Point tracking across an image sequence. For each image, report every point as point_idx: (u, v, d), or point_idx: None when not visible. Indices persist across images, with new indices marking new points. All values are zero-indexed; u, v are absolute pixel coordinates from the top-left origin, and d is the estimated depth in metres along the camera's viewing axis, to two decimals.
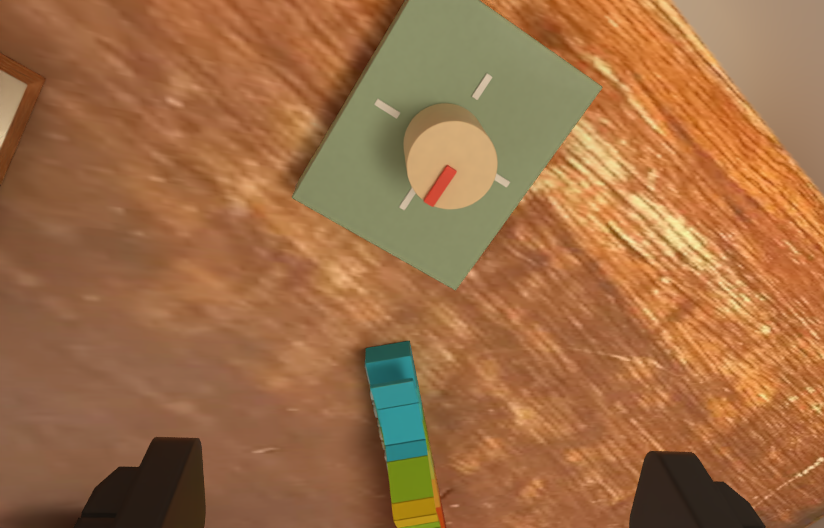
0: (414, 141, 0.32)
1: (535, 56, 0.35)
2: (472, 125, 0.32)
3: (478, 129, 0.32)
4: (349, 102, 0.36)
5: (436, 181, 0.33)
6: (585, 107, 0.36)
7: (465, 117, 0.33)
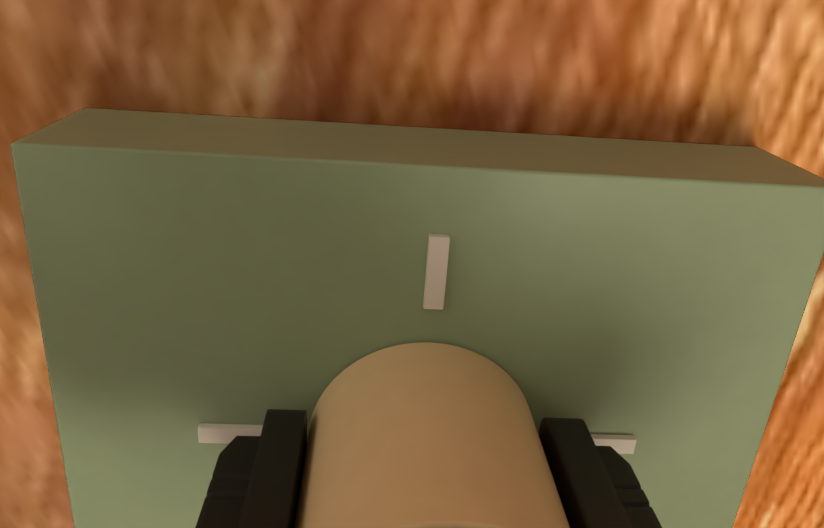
0: (457, 518, 0.09)
1: (711, 501, 0.15)
2: None
3: None
4: (397, 166, 0.11)
5: None
6: None
7: None
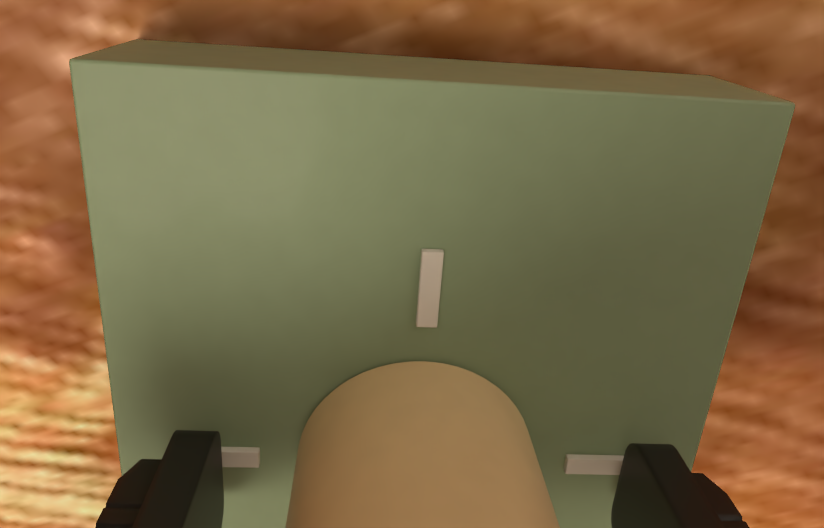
0: None
1: None
2: None
3: None
4: (700, 429, 0.13)
5: None
6: None
7: None
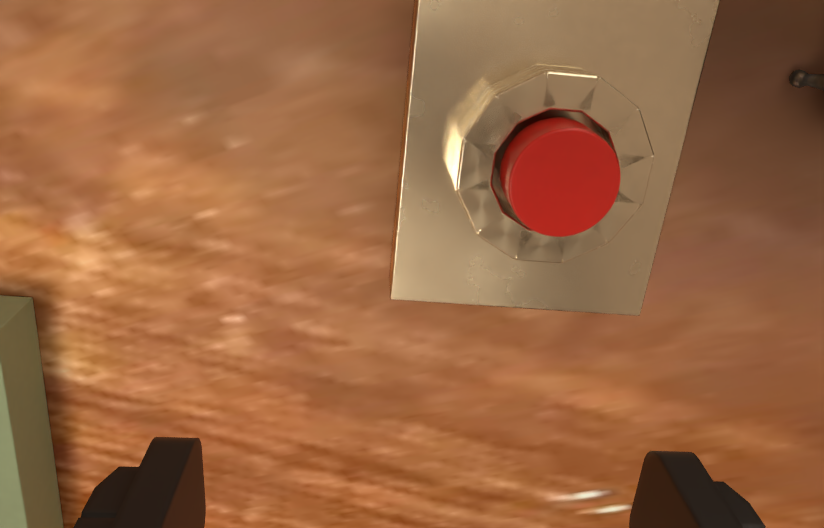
0: None
1: None
2: None
3: None
4: (16, 466, 0.28)
5: None
6: None
7: None
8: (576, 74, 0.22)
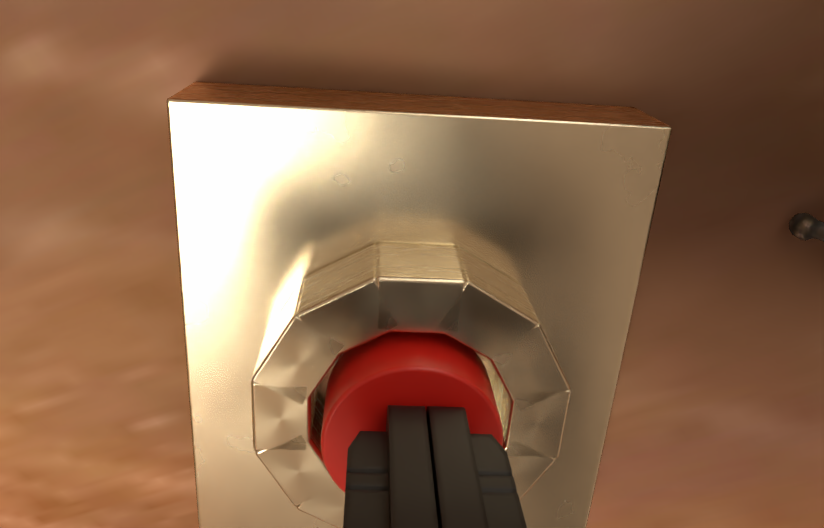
0: None
1: None
2: None
3: None
4: None
5: None
6: None
7: None
8: (428, 278, 0.13)
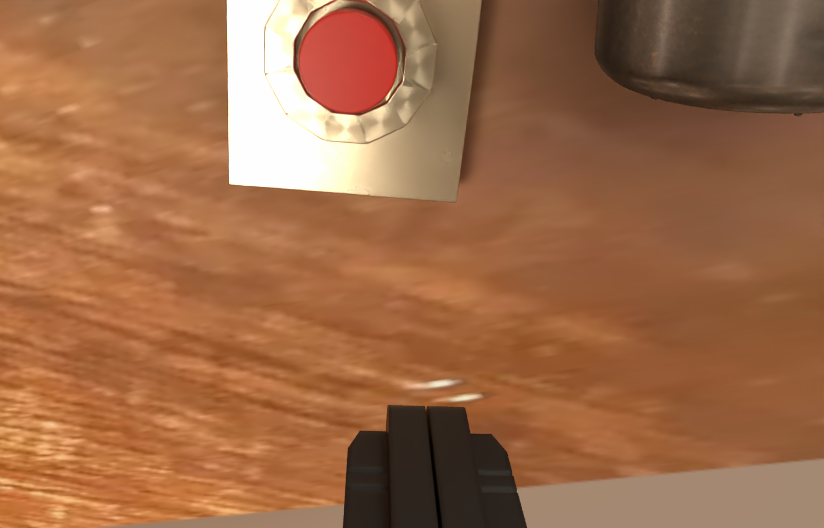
0: None
1: None
2: None
3: None
4: None
5: None
6: None
7: None
8: None
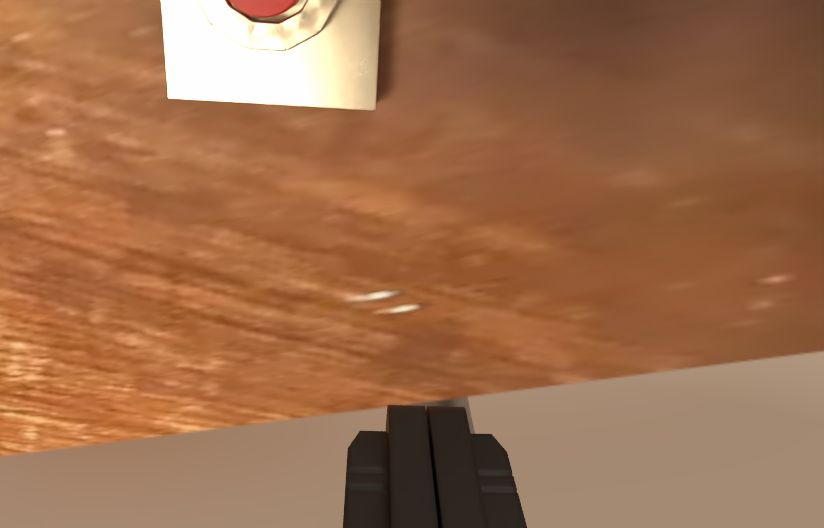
0: None
1: None
2: None
3: None
4: None
5: None
6: None
7: None
8: None
